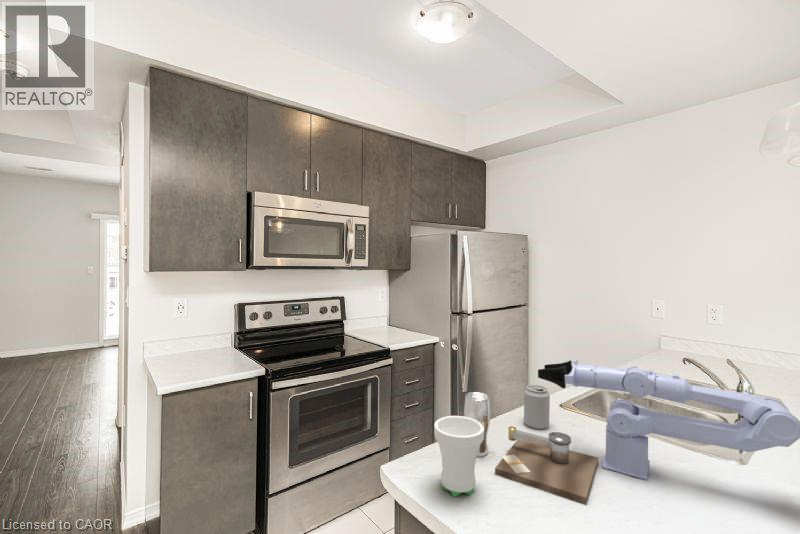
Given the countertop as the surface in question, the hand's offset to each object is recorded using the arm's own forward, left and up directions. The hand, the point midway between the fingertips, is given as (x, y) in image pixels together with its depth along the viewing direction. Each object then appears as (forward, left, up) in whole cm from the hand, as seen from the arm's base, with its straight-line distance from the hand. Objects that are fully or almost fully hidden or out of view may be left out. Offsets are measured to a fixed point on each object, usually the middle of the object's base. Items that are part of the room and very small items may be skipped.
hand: (541, 371), depth 106 cm
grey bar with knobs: (-2, +9, -19) cm, 21 cm away
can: (+4, -12, -21) cm, 25 cm away
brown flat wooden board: (-5, +12, -21) cm, 24 cm away
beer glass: (+13, +14, -21) cm, 28 cm away
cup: (+10, +32, -21) cm, 39 cm away
